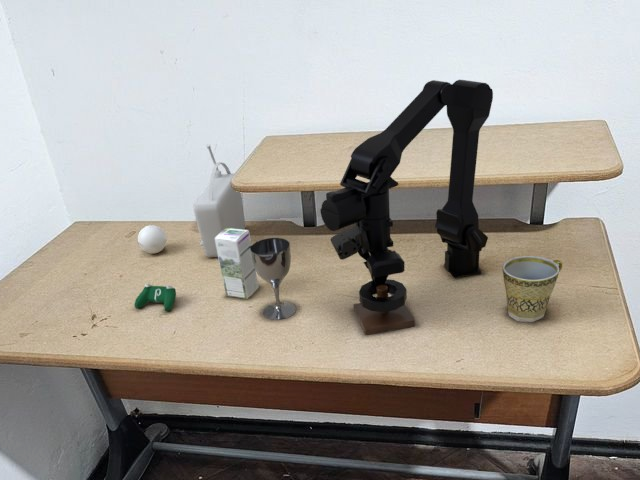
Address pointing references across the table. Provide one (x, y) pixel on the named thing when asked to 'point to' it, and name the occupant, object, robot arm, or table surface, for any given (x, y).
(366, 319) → the peg stand
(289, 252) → the silver metal goblet
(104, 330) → the table surface
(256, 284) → the syrup box
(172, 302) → the gaming controller
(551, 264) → the ceramic cup
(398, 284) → the ring
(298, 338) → the table surface
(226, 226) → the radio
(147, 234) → the white light bulb
